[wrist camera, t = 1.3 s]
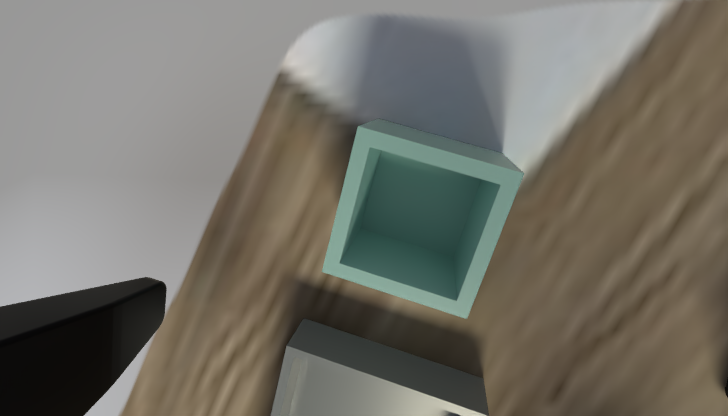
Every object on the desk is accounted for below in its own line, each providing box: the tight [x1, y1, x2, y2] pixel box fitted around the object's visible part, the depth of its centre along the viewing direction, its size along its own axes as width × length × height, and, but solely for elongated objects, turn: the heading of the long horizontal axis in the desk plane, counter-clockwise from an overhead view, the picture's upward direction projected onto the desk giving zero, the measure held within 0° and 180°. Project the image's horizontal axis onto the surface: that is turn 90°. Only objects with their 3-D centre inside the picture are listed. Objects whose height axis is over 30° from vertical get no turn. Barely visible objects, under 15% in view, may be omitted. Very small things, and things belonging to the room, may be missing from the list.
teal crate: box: [322, 119, 524, 319], centre depth 17 cm, size 6×6×5 cm
